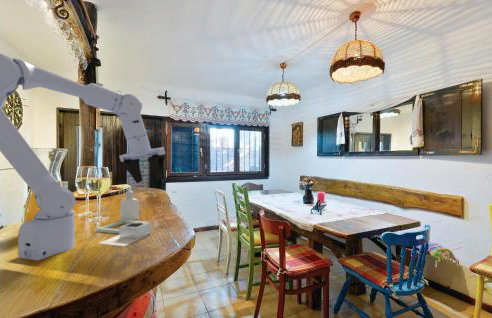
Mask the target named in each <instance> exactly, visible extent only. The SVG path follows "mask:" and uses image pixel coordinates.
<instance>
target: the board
mask: <svg viewBox="0 0 492 318" xmlns="http://www.w3.org/2000/svg"><path fill="white" fill-rule="evenodd" d="M147 236H148V235H146V236H144V237H142V238H140V239H137V240H131V239H122V238H119V234H117V235H115V236H112V237H109V238H108V239H105V240H102V241H100V242H98V244H99V245H108V246H109V245H110V246H118V247H126V246H129V245H130V244H132V243H134V242H137V241H139V240H141V239H143V238H145V237H147Z"/></svg>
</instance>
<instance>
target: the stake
mask: <svg viewBox="0 0 492 318" xmlns="http://www.w3.org/2000/svg"><path fill="white" fill-rule="evenodd" d="M139 225H140V223H131V227H138V226H139Z"/></svg>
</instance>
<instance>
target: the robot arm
mask: <svg viewBox="0 0 492 318" xmlns="http://www.w3.org/2000/svg"><path fill="white" fill-rule="evenodd" d="M19 86H22V90H23V91H25V90H31V89H36V88H42V89H43V88H44V89H48V90H51V91H55V92H59V93H62V94H66V95H70V96H72V97H78V98H80V99H81V100H82V101H83V102H84V104H86V106H87V105H88V106H91V107H94V108H98V109H101V110H104V111H107V112H111V113H114V114H115V115H116V116H118V117H119V120H120V125H121V127H122V131H123V133H124V137H125V140H126V143H127V147H128V149H129V153H124V154H121V155H119V160H120V162H121V167H122V168H124V169H125V170H126V171H127V172H128V173H129V175H130V176H131V178H133V180H134V182H135V183H136V184H139V183H141V182H143V176H142V172H141V166H140V159H145V158H147V161H148V162H149V164H150V165H151V166H150V167H152V170H153V172H154V175H155V178H156V180H157V181H160V180H162V179H164V163H165V159H166V151H165V147H156V148H151V145H150V144H151V143H150V141H149V138H148V135H147V130H146V127H145V123H144V121H143V117H142V114H141V112H142V109H143V103H142V102H141V101H140V100H139V98H137V97H136V96H135V95H133V94H130V93H127V94H123V92H122V91H120V90H113V89H110V88H108V87H105V86H104V84H103V83H100V82H97V83H93V82H91V83H89V84H82V83H80V82H77V81H75V80H72V79H69V78H67V77H65V76H61V75H59V74H57V73H54V72H51V71H48V70H46V69H43V68H40V67H39V66H35V65H33V64H32V63H29V62H27V61H24V60H22V59H19V58H16V57H15V58H14V57H13V58H11V57H9V56H7V55H5V54H3V53H0V153H1V154H2V155H3V157H4V158H5V159H6V160H7V161H8V163H9V164H10V166H12V167H13V169H14V170H15V171H16V172H17V174H18V175H19V176H20V177H21V179H22V180H23V181H24V182H25V184H26V185H28V186H29V187H30V189H31V190H32V191H33V192H34V194H35V199H36V204H37V205H38V207H39V208H40V210H39V211H38V212H37V214H35V216H34V219H33V220H31V221H28V220H27V221H25V222H23V223H22V224H21V225H20V226H19V229H18V235H17V239H18V241H17V242H18V243H17V246H18V249H17V250H18V256H17V257H18V258H19V259H26V260H32V261H40V260H43V259H46V258H48V257H52V256H55V255H58V254H60V253H65V252H67V251H70V250H72V249H73V248H74V247H75V210H74V207H75V205H76V196H75V194H74V193H73V192H72V191H71V190H70V189H68V190H67V189H65V188H63V187H62V186H61V185H60V184H59V183H58V182H59V181H58V180H57V179H56V178H55V177H54V176H53V175H52V173H50V171H49V170H48V168H47V167H46V166H45V165H44V163H43V162H42V161H41V159H40V157H38V155H37V154H36V153H35V151H34V150H33V149H32V147H31V146H30V144H29V143H28V142H27V141H26V139H25V138H24V137H23V135H22V134H21V133H20V131H19V130H18V129H17V127H16V126H15V124H14V123H13V122H12V121H11V119H10V118H9V117H8V116H7V114H6V112H4V110H3V107H4V105H5V102H6V101H7V98H8V97H10V96H11V95H13V93H15V92H16V91H17V90H18V88H19Z"/></svg>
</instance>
